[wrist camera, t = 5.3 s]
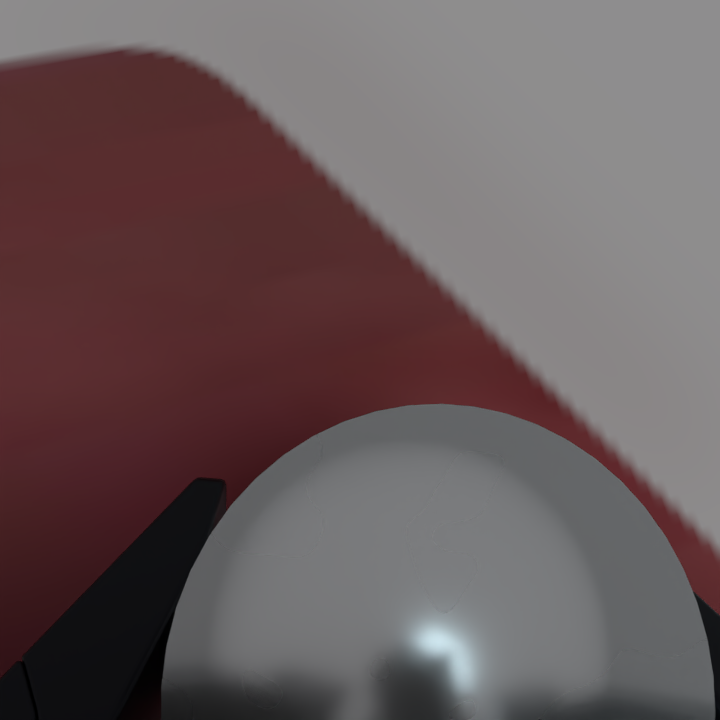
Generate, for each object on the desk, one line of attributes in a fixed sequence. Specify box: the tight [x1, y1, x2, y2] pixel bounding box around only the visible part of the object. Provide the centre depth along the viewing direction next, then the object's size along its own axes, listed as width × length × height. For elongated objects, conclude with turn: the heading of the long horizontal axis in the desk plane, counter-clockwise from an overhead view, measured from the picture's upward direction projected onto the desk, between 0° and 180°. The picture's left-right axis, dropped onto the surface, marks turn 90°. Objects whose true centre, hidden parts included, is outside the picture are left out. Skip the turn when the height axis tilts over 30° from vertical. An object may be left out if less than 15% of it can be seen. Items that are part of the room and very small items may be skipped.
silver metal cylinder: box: [161, 404, 715, 720], centre depth 11 cm, size 5×5×10 cm
